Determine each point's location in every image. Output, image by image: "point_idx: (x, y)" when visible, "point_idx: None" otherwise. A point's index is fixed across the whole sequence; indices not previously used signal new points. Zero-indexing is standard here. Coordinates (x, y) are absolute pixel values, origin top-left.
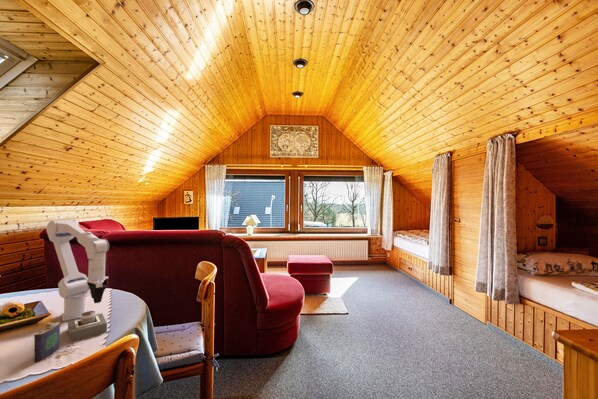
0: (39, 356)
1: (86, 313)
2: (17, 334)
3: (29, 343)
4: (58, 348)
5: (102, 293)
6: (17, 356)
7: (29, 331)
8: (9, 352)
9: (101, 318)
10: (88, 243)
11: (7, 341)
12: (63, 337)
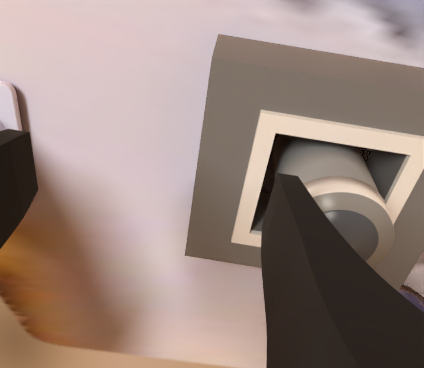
0: None
1: None
2: (82, 328)
3: (226, 325)
4: (408, 288)
5: (365, 272)
6: None
7: (77, 303)
8: (256, 364)
9: (353, 105)
10: None
11: (136, 352)
12: None
